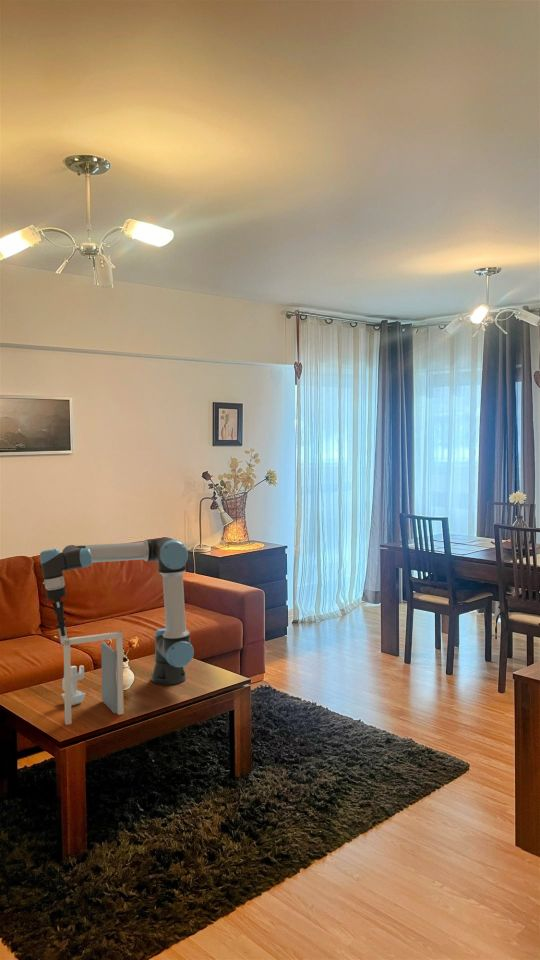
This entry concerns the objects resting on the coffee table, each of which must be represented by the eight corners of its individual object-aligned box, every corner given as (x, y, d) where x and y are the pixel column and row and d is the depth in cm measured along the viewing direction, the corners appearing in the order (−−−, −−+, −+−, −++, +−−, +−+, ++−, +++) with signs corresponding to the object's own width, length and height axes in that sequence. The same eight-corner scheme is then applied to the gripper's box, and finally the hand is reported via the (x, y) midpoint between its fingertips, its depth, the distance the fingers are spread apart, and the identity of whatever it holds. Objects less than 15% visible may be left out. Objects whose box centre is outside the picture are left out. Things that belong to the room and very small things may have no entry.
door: (120, 711, 270) (119, 651, 269) (113, 713, 269) (112, 652, 268) (108, 699, 284) (107, 641, 284) (102, 700, 283) (101, 642, 282)
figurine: (58, 703, 281) (57, 667, 280) (78, 697, 288) (78, 661, 287) (68, 708, 276) (67, 670, 275) (88, 701, 283) (88, 665, 282)
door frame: (122, 712, 271) (120, 631, 270) (123, 713, 269) (122, 632, 268) (64, 723, 260) (63, 638, 259) (66, 724, 259) (64, 640, 257)
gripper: (45, 586, 286) (53, 637, 286) (45, 593, 262) (55, 648, 262) (64, 582, 288) (72, 633, 288) (66, 589, 264) (75, 644, 265)
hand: (64, 640), depth 275 cm, fingers open, 13 cm apart
